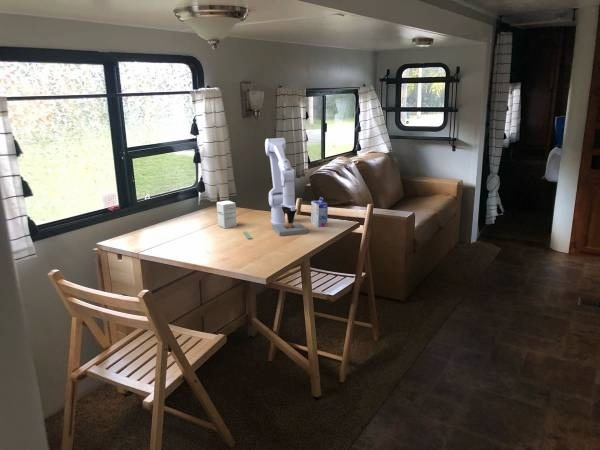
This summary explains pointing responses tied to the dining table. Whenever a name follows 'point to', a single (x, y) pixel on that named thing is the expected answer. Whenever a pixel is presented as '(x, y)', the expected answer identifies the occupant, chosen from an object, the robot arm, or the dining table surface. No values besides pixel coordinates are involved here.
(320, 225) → the ink cartridge box
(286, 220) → the plug
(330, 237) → the dining table surface
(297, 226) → the grey socket board
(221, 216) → the supplement box
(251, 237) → the mat
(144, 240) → the dining table surface
